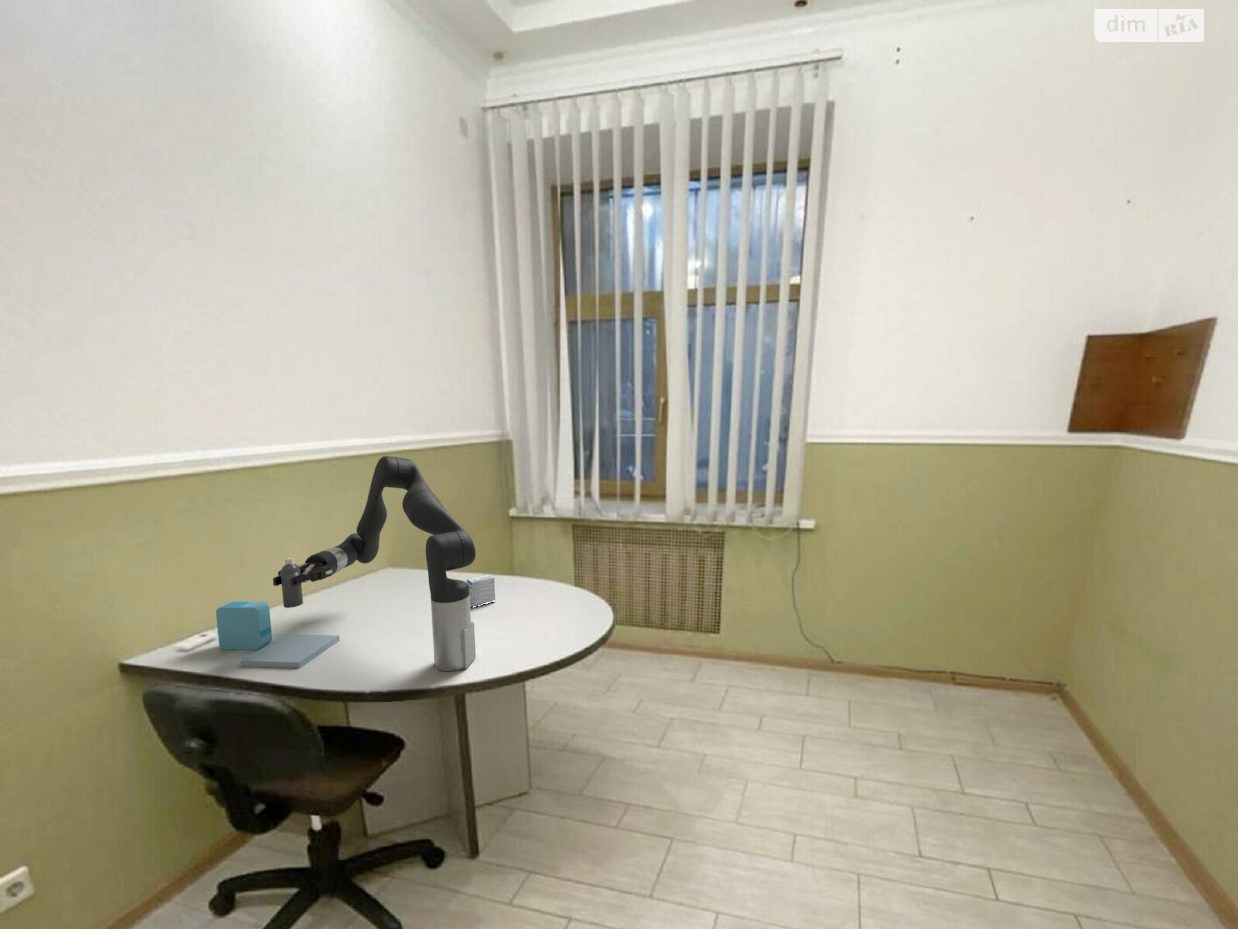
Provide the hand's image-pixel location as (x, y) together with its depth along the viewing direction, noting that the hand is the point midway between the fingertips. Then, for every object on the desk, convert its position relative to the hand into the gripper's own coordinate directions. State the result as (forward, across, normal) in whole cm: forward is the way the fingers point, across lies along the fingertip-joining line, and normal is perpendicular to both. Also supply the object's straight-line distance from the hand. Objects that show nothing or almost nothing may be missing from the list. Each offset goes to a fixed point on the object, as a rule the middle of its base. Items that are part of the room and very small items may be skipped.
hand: (283, 582), depth 137 cm
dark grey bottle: (-3, 0, +7) cm, 8 cm away
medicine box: (-40, +37, +20) cm, 58 cm away
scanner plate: (-2, -1, +20) cm, 20 cm away
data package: (-5, -17, +20) cm, 27 cm away
